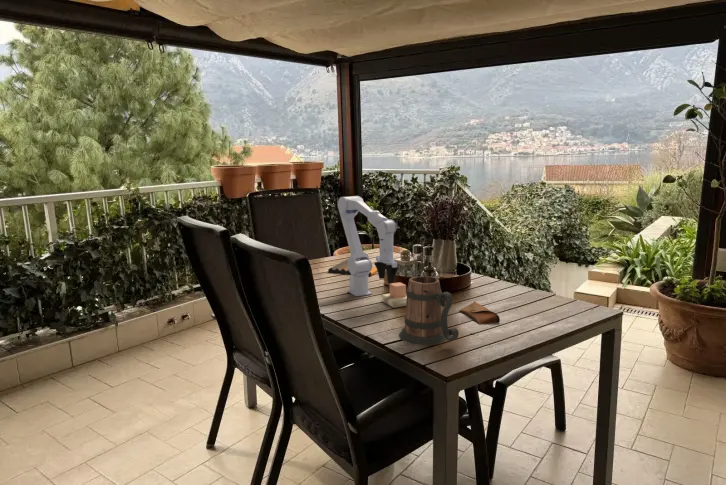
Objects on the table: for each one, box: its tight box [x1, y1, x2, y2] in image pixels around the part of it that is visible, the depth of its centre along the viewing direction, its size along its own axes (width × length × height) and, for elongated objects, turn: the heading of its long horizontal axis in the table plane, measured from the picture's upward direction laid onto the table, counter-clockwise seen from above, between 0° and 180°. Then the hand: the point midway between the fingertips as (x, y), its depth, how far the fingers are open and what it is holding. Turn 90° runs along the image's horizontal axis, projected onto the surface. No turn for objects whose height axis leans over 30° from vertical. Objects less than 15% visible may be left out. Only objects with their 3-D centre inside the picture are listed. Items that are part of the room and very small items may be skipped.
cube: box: [389, 281, 407, 298], centre depth 204 cm, size 5×5×5 cm
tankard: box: [398, 276, 460, 346], centre depth 163 cm, size 24×17×20 cm
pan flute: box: [327, 259, 378, 277], centre depth 266 cm, size 25×3×25 cm
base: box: [381, 292, 407, 309], centre depth 205 cm, size 10×10×3 cm
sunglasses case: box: [458, 300, 501, 325], centre depth 187 cm, size 18×7×7 cm
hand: (386, 280), depth 205 cm, fingers open, 7 cm apart
